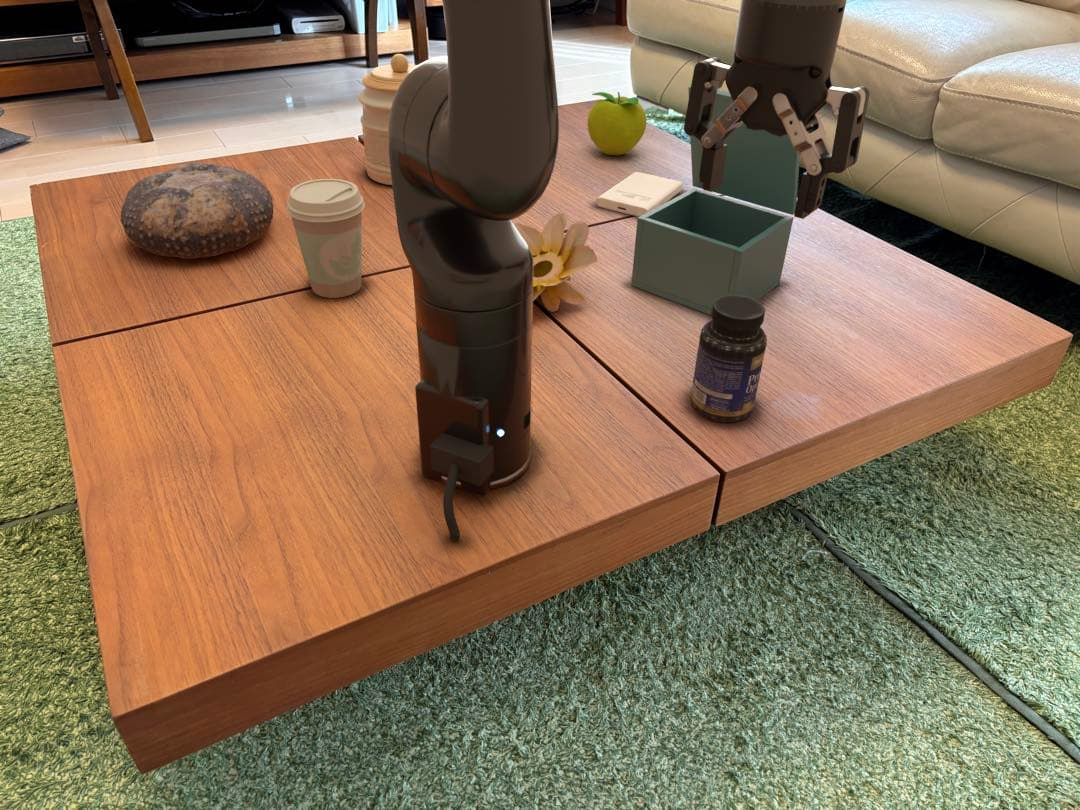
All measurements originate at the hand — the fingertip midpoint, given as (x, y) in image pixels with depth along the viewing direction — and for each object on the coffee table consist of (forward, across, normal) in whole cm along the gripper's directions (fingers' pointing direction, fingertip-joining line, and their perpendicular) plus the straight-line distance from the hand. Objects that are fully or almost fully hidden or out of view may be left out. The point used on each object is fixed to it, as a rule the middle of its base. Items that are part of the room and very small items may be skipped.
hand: (756, 201), depth 71 cm
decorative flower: (+21, -28, +5) cm, 35 cm away
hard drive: (+21, -35, +38) cm, 56 cm away
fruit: (+21, -49, +52) cm, 75 cm away
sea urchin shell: (+21, -71, -12) cm, 75 cm away
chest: (+20, -13, +20) cm, 32 cm away
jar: (+21, -68, +22) cm, 75 cm away
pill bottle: (+21, +1, -1) cm, 21 cm away
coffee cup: (+21, -47, -10) cm, 52 cm away
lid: (+5, -13, +24) cm, 28 cm away
